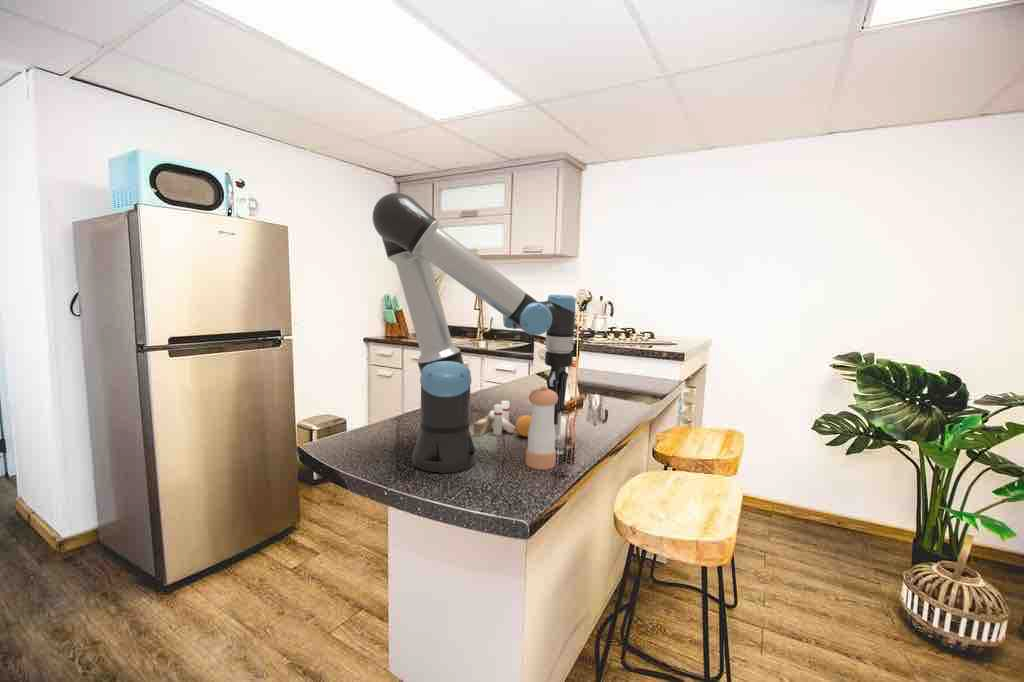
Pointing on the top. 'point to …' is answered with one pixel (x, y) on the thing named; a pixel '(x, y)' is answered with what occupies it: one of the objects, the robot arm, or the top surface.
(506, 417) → the pin
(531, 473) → the top surface
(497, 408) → the pin
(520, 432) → the ball
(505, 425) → the front pin
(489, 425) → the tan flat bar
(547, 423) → the salt shaker
